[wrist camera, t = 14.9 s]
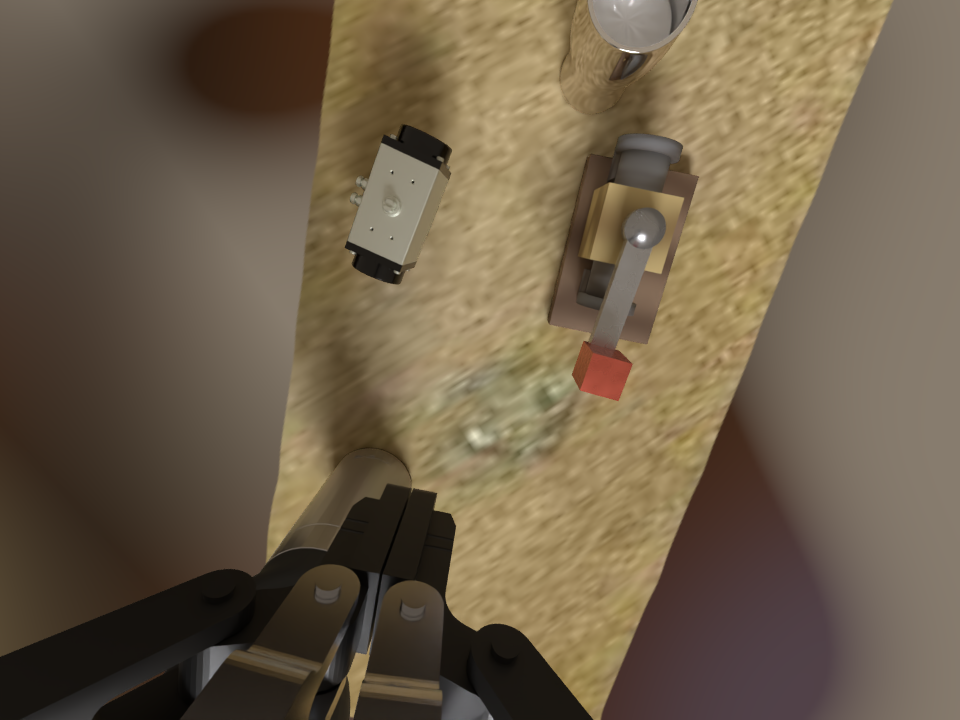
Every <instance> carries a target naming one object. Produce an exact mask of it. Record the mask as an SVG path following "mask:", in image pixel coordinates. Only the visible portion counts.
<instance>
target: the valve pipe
mask: <svg viewBox="0 0 960 720" xmlns="http://www.w3.org/2000/svg"><path fill="white" fill-rule="evenodd" d="M682 149H683V145H682V144H681V143H679V142H677V141H675V140H672V139H669V138H666V137H662V136H656V135H649V134H625V135H622V136H620V137H619V138H618V141H617V145H616V148H615V152H614V156H613V158H608V157H603V156H599V155H594V154H591V155H590V156H588V157H587V160H586V164H585V169H584V173H583V177H582V181H581V185H580V189H579V193H578V197H577V201H576V206H575V210H574V214H573V218H572V222H571V226H570V230H569V234H568V239H567V243H566V247H565V251H564V255H563V259H562V263H561V267H560V271H559V276H558V280H557V284H556V288H555V292H554V296H553V300H552V304H551V308H550V313H549V317H548V323H549V324H550V325H555V326H560V327H565V328H569V329H574V330H579V331H584V332H589V333H591V332H592V330H593V327H594V324H595V321H596V318H597V315H598V313H599V310H600V307H601V304H602V301H603V298H604V295H605V293H606V290H607V287H608V284H609V281H610V278H611V276H612V273H613V270H614V267H615V264H616V261H617V259H618V256H619V253H620V250H621V247H622V244H623V241H624V240H623V238H622V234H621V227H622V223H623V221H624V219H625V218H626V216H627V215H628V214H629V213H631V212H632V211H634V210H637V209H641V208H647V207H649V208H654V209H656V210H658V211H659V212H660V213H661V214H662V215H663V216H664V218H665V221H666V232H665V235H664V237H663V238H662V240H661V241H660V242H659V243H658V244H657V245H656V246H654V247H653V248H652V251H651V253H650V256H649V259H648V262H647V264H646V267H645V270H644V272H643V275H642V278H641V280H640V283H639V286H638V289H637V291H636V294H635V297H634V299H633V302H632V305H631V307H630V310H629V313H628V315H627V318H626V321H625V324H624V326H623V329H622V332H621V334H620V337H619V339H623V340H628V341H633V342H638V343H643V344H647V343H648V340H649V336H650V333H651V330H652V327H653V324H654V320H655V317H656V314H657V311H658V307H659V304H660V301H661V298H662V294H663V291H664V288H665V285H666V281H667V278H668V275H669V272H670V268H671V265H672V262H673V259H674V256H675V252H676V249H677V246H678V243H679V239H680V236H681V233H682V230H683V226H684V223H685V220H686V217H687V213H688V210H689V207H690V204H691V200H692V197H693V194H694V191H695V188H696V184H697V181H698V178H699V176H695V175H690V174H685V173H680V172H676V171H671V170H668V169H669V166H670V164H673V163H677V162H678V161H679V159H680V156H681V152H682Z"/></svg>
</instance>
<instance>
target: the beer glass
mask: <svg viewBox="0 0 960 720" xmlns="http://www.w3.org/2000/svg"><path fill="white" fill-rule="evenodd" d="M697 1H698V0H578V1H577V4H576V8H575V11H574V15H573V19H572V24H571V35H570V52H569V53H568V54H567V56H566V58H565V60H564V62H563V65H562V68H561V73H560V86H561V90H562V93H563V96H564V98H565V100H566V101H567V102H568V104H569V105H570V106H571V107H572V108H574V109H575V110H577V111H579V112H581V113H585V114H597V113H601V112H604V111H606V110H608V109H609V108H611V107H612V106H613V105H614V104H616V102H617V101H618V100H619V99H620V97H621V96H622V94H623V92H624V90H625V88H626V87H627V86H629V85H631V84H633V83H634V82H636V81H637V80H639V79H640V78H642V77H643V76H645V75H646V74H647V73H648V72H649V71H651V70H652V69H653V68H654V67H655V66H656V65H657V64H658V63H659V62H660V60H661V59H662V58H663V57H664V55H665V54H666V53H667V52H668V50H669V49H670V48H671V46H672V45H673V43H674V42H675V40H676V39H677V37H678V36H679V34H680V33H681V31H682V30H683V29H684V28H685V26H686V25H687V23H688V22H689V20H690V18H691V16H692V14H693V12H694V10H695V7H696V4H697Z"/></svg>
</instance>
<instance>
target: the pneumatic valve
mask: <svg viewBox="0 0 960 720" xmlns="http://www.w3.org/2000/svg"><path fill="white" fill-rule="evenodd" d="M451 153H452V149H451V148H450V147H449V146H448V145H446V144H445V143H443V142H442V141H440V140H438V139H436V138H435V137H433V136H431V135H429V134H427V133H425V132H423V131H421V130H418V129H416V128H414V127H411V126H408V125H405V124H402V125H401V126H400V129H399V132H398V135H397V136H395V135H393V134H391V135H390V137H388V136H386V135H384V136H383V138H382V141H381V144H380V147H379V150H378V153H377V156H376V159H375V162H374V164H373V167H372V170H371V173H370V176H369V179H368V178H365V179H364V177H363V176H361V175H360V176H358V177H357V180H356V185H357V186H358V187H361V186H362V188H363V189H364V193H363V196H361V195H359V196H358V194H357V193H352V195H351V197H350V202H351V203H352V204H355V203H356V205H357V206H359V208H358V211H357V214H356V216H355V219H354V222H353V225H352V228H351V231H350V234H349V237H348V240H347V242H346V245H345V248H346V249H348V250H350V253H351V254H354V255H355V256H354V259H353V262H352V266H353V267H354V268H356V269H357V270H359V271H360V272H362V273H364V274H366V275H368V276H370V277H373V278H375V279H378V280H381V281H383V282H387V283H391V284H400V283H401V281H402V278H403V276H404V273H405V271H409V270H410V269H412V268H414V267H415V264H416V262H417V259H418V257H419V254H420V252H421V249H422V247H423V244H424V241H425V239H426V236H427V235H428V232H429V230H430V227H431V225H432V222H433V220H434V217H435V215H436V212H437V210H438V207H439V203H440V201H441V198H442V196H443V193H444V191H445V188H446V186H447V183H448V181H449V178H450V175H451V172H450V171H449V168H450V167H449V166H448V165H447V163H448V160H449V158H450V155H451Z"/></svg>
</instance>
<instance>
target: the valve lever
mask: <svg viewBox="0 0 960 720" xmlns="http://www.w3.org/2000/svg"><path fill="white" fill-rule="evenodd" d="M665 232H666V221H665V218H664V216H663V215H662V214H661V213H660V212H659V211H658V210H656V209H654V208H649V207H647V208H641V209H637V210H634V211H632V212H631V213H629V214H628V215H627V216H626V218H625V219H624V221H623V223H622V227H621V234H622V238H623V240H624V241H623V244H622V247H621V250H620V253H619V256H618V259H617V261H616V264H615V267H614V270H613V273H612V276H611V278H610V281H609V284H608V287H607V290H606V293H605V295H604V298H603V301H602V304H601V307H600V310H599V313H598V315H597V318H596V321H595V324H594V327H593V330H592V332H591V335H590V338H589V341H588V342H586V341H583V344H582V347H581V350H580V353H579V356H578V359H577V361H576V364H575V367H574V370H573V373H572V376H573V378H574V380H575V382H576V383H577V385H578V387H579V389H580V390H581V391H584V392H588V393H591V394H595V395H599V396H602V397H606V398H609V399H613V400H616V401H619V398H620V396H621V393H622V390H623V388H624V385H625V383H626V380H627V377H628V375H629V372H630V370H631V367H632V363H631V362H630V361H629V360H628V359H627V358H626V357H625V356H624V355H623V354H622V353H621V352H620V351H618V350H615V348H616V345H617V342H618V340H619V337H620V334H621V332H622V329H623V326H624V324H625V321H626V318H627V315H628V313H629V310H630V307H631V305H632V302H633V299H634V297H635V294H636V291H637V289H638V286H639V283H640V280H641V278H642V275H643V272H644V270H645V267H646V264H647V262H648V259H649V256H650V253H651V251H652V248H653V247H654V246H656V245H657V244H658V243H659V242H660V241H661V240H662V238H663V237H664V235H665Z"/></svg>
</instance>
